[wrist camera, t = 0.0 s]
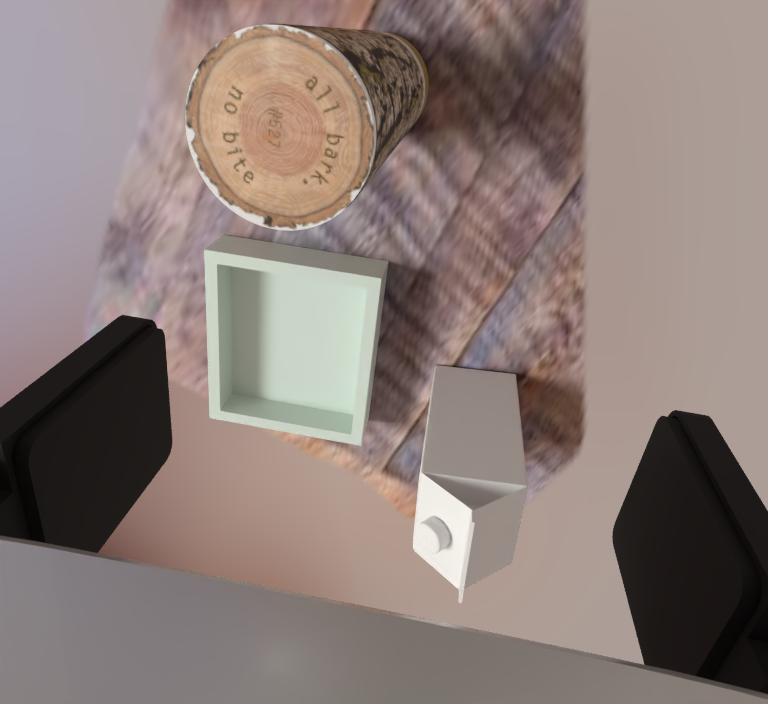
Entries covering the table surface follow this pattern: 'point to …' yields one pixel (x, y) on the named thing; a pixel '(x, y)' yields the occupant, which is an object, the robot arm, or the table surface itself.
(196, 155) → the paper tube
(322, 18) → the table surface
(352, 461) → the table surface
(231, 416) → the tray
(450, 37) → the table surface
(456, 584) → the milk carton
